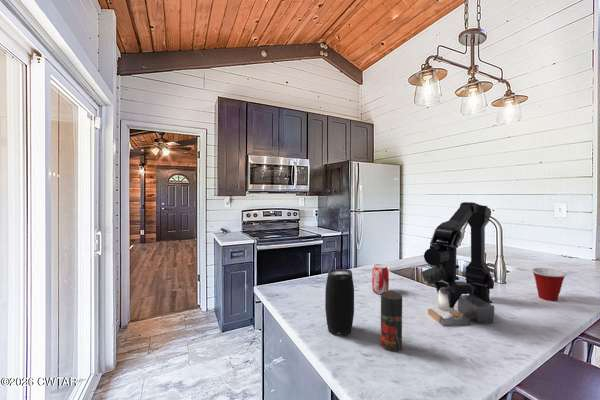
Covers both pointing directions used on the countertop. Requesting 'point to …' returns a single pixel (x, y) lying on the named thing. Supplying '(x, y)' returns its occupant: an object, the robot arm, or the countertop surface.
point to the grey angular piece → (467, 312)
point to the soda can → (380, 278)
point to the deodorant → (391, 321)
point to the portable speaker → (339, 301)
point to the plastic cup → (548, 282)
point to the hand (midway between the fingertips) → (446, 304)
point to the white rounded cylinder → (444, 300)
